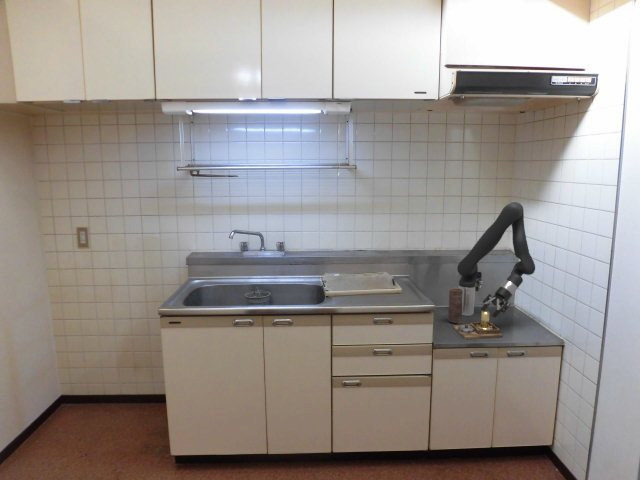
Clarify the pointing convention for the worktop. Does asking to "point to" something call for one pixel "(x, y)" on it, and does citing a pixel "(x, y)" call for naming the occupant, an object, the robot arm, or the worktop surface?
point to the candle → (455, 305)
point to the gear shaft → (484, 321)
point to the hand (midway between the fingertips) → (487, 313)
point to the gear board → (477, 331)
